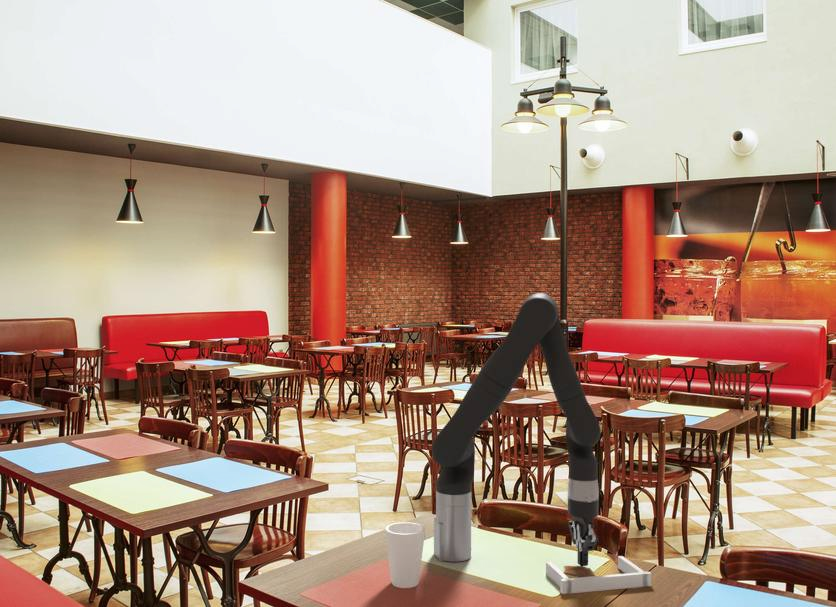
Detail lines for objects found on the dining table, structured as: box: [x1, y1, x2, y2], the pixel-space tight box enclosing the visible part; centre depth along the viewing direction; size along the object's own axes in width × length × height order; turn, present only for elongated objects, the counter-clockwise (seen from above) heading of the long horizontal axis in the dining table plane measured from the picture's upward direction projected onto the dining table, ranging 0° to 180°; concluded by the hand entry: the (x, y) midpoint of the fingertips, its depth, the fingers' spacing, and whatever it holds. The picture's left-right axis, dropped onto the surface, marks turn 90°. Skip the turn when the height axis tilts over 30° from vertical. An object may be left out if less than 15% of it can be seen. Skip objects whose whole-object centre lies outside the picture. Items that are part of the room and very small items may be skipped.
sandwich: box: [563, 565, 596, 578], centre depth 179 cm, size 11×8×2 cm
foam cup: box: [384, 521, 426, 589], centre depth 176 cm, size 10×9×13 cm
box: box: [545, 555, 652, 595], centre depth 178 cm, size 22×12×3 cm, turn 103°
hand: (582, 564), depth 185 cm, fingers closed
